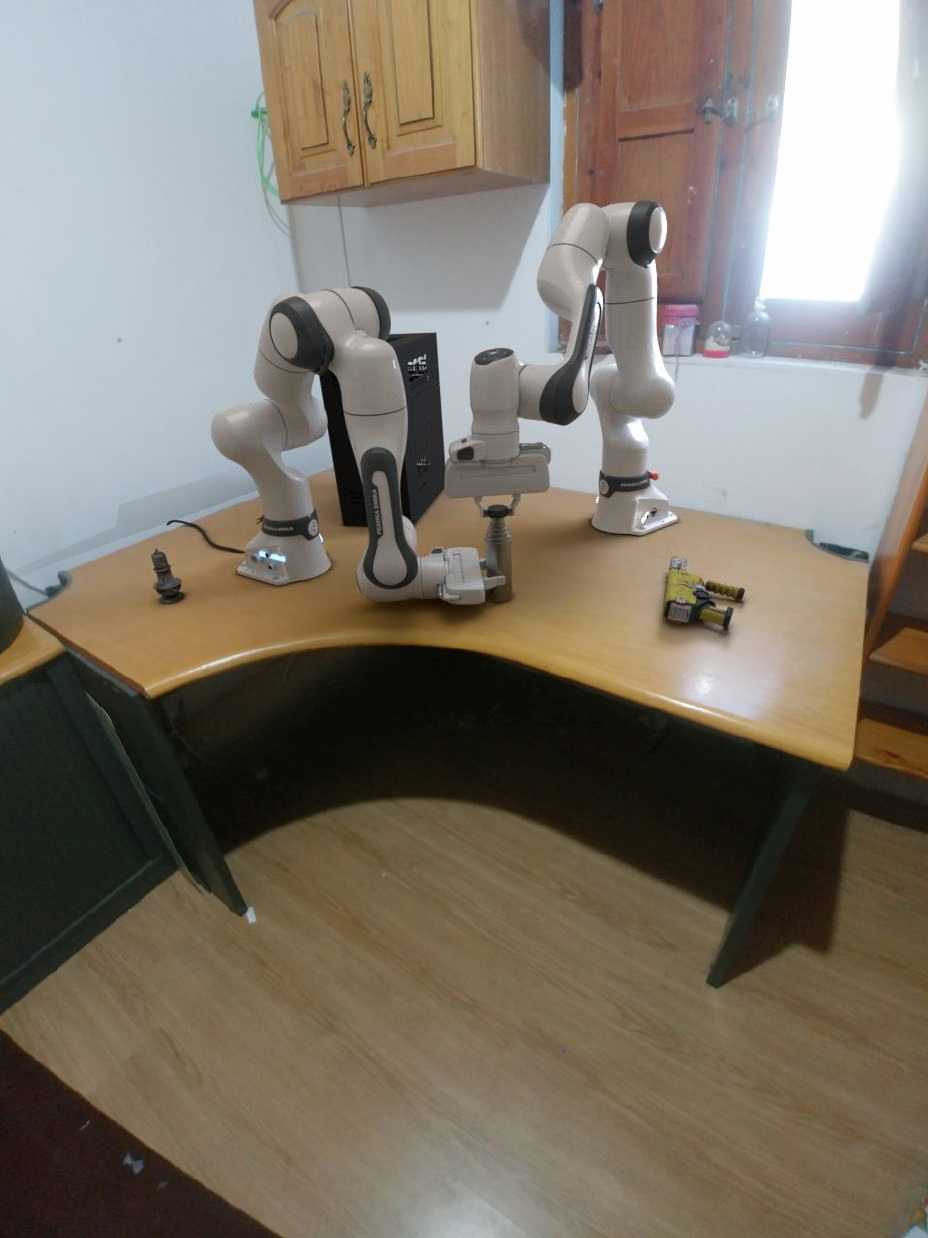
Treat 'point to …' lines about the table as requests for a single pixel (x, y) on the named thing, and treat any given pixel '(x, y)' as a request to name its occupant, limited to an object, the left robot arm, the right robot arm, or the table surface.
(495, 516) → the cap
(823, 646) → the table surface
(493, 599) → the bottle
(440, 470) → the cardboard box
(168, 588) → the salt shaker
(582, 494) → the table surface
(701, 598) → the toy gun
